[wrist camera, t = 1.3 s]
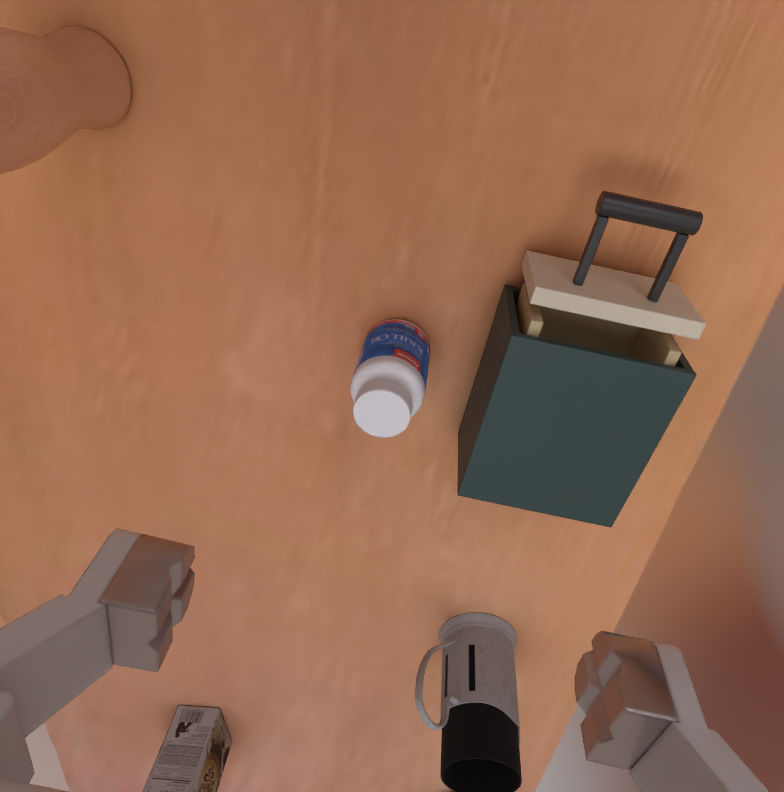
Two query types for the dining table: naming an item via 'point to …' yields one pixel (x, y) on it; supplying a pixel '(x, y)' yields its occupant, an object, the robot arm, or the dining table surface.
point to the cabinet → (562, 422)
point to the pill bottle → (390, 377)
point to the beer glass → (56, 90)
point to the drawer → (613, 291)
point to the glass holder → (477, 704)
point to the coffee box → (191, 752)
